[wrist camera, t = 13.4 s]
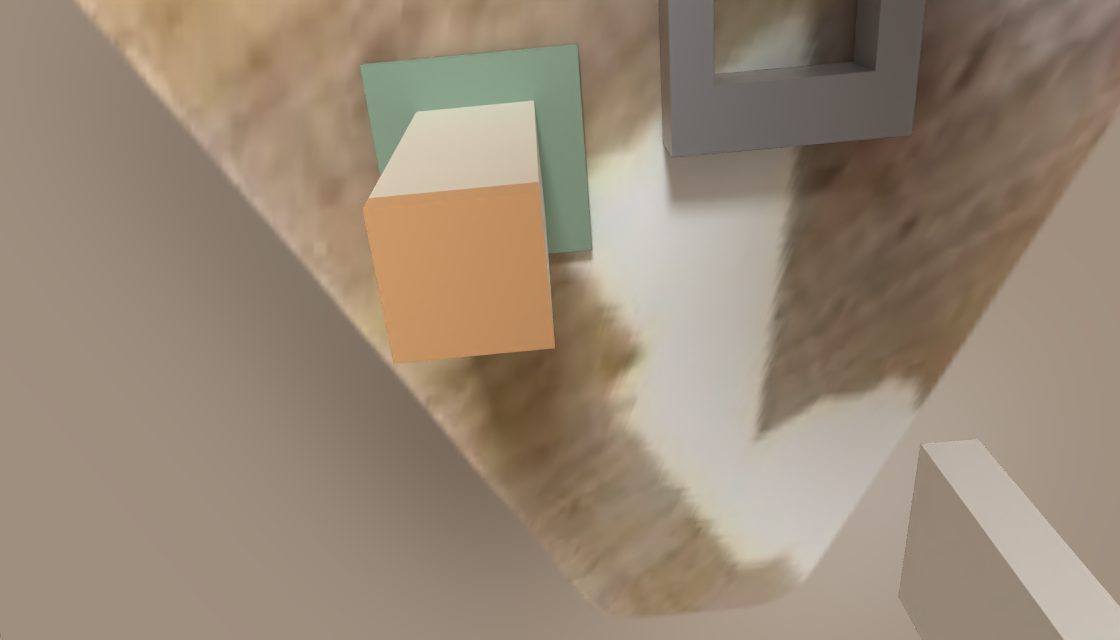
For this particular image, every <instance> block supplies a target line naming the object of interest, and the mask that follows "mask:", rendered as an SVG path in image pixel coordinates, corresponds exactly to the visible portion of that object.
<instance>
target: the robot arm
mask: <svg viewBox="0 0 1120 640" xmlns="http://www.w3.org/2000/svg"><path fill="white" fill-rule="evenodd" d="M899 598H900V600H901V602H902V604H903V606H904V607H905V609H906V611H907V613H908V615H909V617H910V619H911V620H912V622H913V624H914V626H915V628H916V630H917V632H918V633H919V635H920V637H921V639H922V640H1120V607H1119V606H1118V604H1117V603H1116V602H1115V601H1114V599H1113V598H1112V597H1111V596H1110V595H1109V594H1108V592H1107V591H1106V590H1105V589H1104V588H1103V587H1102V585H1101V584H1100V583H1099V582H1098V581H1097V579H1096V578H1095V577H1094V576H1093V575H1092V573H1091V572H1090V571H1089V570H1088V569H1087V567H1085V565H1084V564H1083V563H1082V562H1081V561H1080V559H1079V558H1078V557H1077V556H1076V554H1075V553H1074V552H1073V551H1072V550H1071V549H1070V547H1069V546H1068V545H1067V544H1066V543H1065V541H1064V540H1063V539H1062V538H1061V537H1060V536H1059V534H1058V533H1057V532H1056V531H1055V530H1054V528H1053V527H1052V526H1051V525H1050V524H1049V523H1048V521H1047V520H1046V519H1045V518H1044V517H1043V515H1042V514H1041V513H1040V512H1039V511H1038V510H1037V508H1036V507H1035V506H1034V505H1033V504H1032V502H1031V501H1030V500H1029V499H1028V498H1027V496H1025V494H1024V493H1023V492H1022V491H1021V490H1020V488H1019V487H1018V486H1017V485H1016V483H1015V482H1014V481H1013V480H1012V479H1011V478H1010V476H1009V475H1008V474H1007V473H1006V472H1005V470H1004V469H1003V468H1002V467H1001V466H1000V465H999V463H998V462H997V461H996V460H995V459H994V458H993V456H992V455H991V454H990V453H989V452H988V450H987V449H986V448H985V447H984V446H983V445H982V443H981V442H980V441H979V440H978V439H970V440H959V441H946V442H935V443H923V444H921V445H920V452H919V459H918V465H917V472H916V480H915V487H914V493H913V500H912V507H911V514H910V521H909V527H908V534H907V541H906V548H905V555H904V562H903V569H902V576H901V582H900V590H899ZM0 640H3V639H2V637H1V635H0Z"/></svg>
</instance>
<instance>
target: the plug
mask: <svg viewBox="0 0 1120 640" xmlns="http://www.w3.org/2000/svg"><path fill="white" fill-rule="evenodd" d="M363 213H364V218H365V223H366V228H367V233H368V238H369V243H370V248H371V253H372V258H373V263H374V268H375V273H376V278H377V283H378V288H379V293H380V298H381V303H382V308H383V313H384V318H385V323H386V328H387V333H388V338H389V343H390V348H391V353H392V358H393V363H394V364H395V363H405V362H416V361H426V360H436V359H447V358H457V357H468V356H478V355H489V354H499V353H510V352H520V351H531V350H541V349H552V348H555V341H554V327H553V313H552V299H551V286H550V272H549V258H548V244H547V231H546V217H545V206H544V196H543V186H542V175H541V165H540V155H539V145H538V135H537V125H536V115H535V105H534V101H523V102H513V103H503V104H492V105H482V106H472V107H461V108H451V109H440V110H430V111H420V112H416V113H415V115H414V117H413V119H412V121H411V122H410V124H409V126H408V128H407V130H406V132H405V133H404V135H403V137H402V139H401V141H400V142H399V144H398V146H397V148H396V150H395V151H394V153H393V155H392V157H391V159H390V160H389V162H388V164H387V166H386V168H385V169H384V171H383V173H382V175H381V177H380V179H379V180H378V182H377V184H376V186H375V188H374V189H373V191H372V193H371V195H370V197H369V198H368V200H367V202H366V204H365V206H364V207H363Z"/></svg>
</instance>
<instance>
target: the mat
mask: <svg viewBox="0 0 1120 640" xmlns="http://www.w3.org/2000/svg"><path fill="white" fill-rule="evenodd" d="M360 69H361V74H362V80H363V85H364V91H365V96H366V102H367V107H368V113H369V118H370V123H371V129H372V134H373V140H374V145H375V151H376V156H377V162H378V167H379V172H380V177H381V175H382V173H383V171H384V169H385V168H386V166H387V164H388V162H389V160H390V159H391V157H392V155H393V153H394V151H395V150H396V148H397V146H398V144H399V142H400V141H401V139H402V137H403V135H404V133H405V132H406V130H407V128H408V126H409V124H410V122H411V121H412V119H413V117H414V115H415V113H416V112H420V111H430V110H440V109H451V108H461V107H472V106H482V105H492V104H503V103H513V102H523V101H534V105H535V115H536V125H537V135H538V145H539V155H540V165H541V175H542V186H543V196H544V206H545V217H546V231H547V244H548V254H552V253H563V252H573V251H584V250H592V244H591V230H590V216H589V202H588V187H587V173H586V159H585V145H584V131H583V117H582V103H581V89H580V75H579V61H578V47H577V44H573V45H562V46H552V47H541V48H530V49H519V50H509V51H498V52H487V53H476V54H465V55H455V56H444V57H433V58H422V59H411V60H401V61H390V62H379V63H368V64H362V65H361V66H360Z"/></svg>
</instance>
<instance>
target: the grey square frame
mask: <svg viewBox="0 0 1120 640" xmlns="http://www.w3.org/2000/svg"><path fill="white" fill-rule="evenodd" d="M925 6H926V0H858V1H857V15H856V30H855V44H854V58H853V61H852V62H842V63H831V64H820V65H809V66H798V67H788V68H777V69H766V70H755V71H745V72H734V73H723V74H714V0H659V22H660V57H661V91H662V126H663V144H664V145H665V147H666V148H667V150H668V152H669V153H670V155H671V157H683V156H694V155H705V154H715V153H726V152H737V151H748V150H759V149H769V148H780V147H791V146H802V145H813V144H823V143H834V142H845V141H856V140H867V139H877V138H888V137H899V136H910V135H912V131H913V121H914V112H915V102H916V92H917V83H918V73H919V64H920V54H921V44H922V35H923V25H924V15H925Z"/></svg>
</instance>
